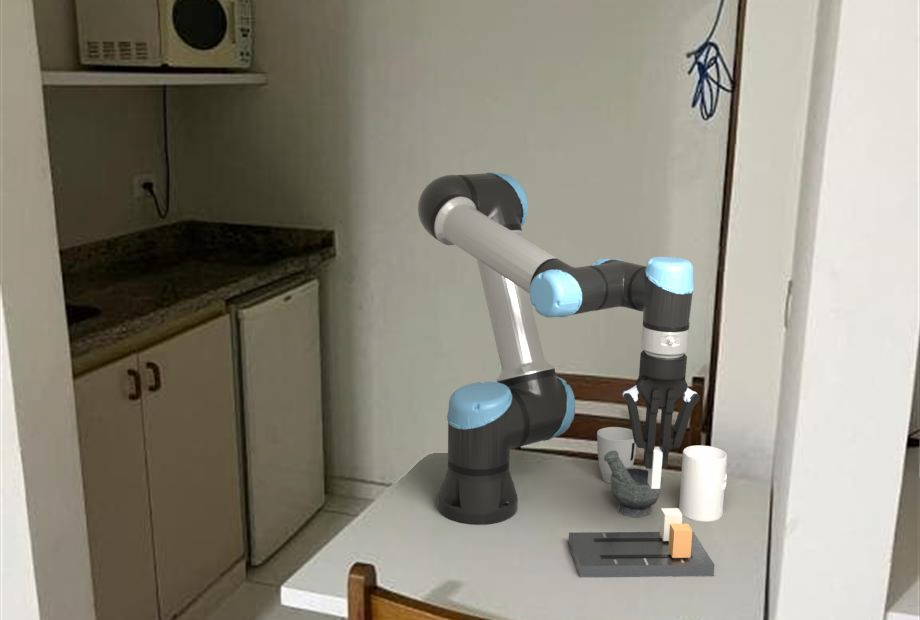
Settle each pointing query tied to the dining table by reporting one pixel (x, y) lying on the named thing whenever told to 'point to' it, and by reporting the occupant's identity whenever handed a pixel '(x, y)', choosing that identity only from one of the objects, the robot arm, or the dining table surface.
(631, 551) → the console
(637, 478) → the mortar and pestle
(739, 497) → the dining table surface
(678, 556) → the fader
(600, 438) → the cup
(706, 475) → the mug
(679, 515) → the fader
